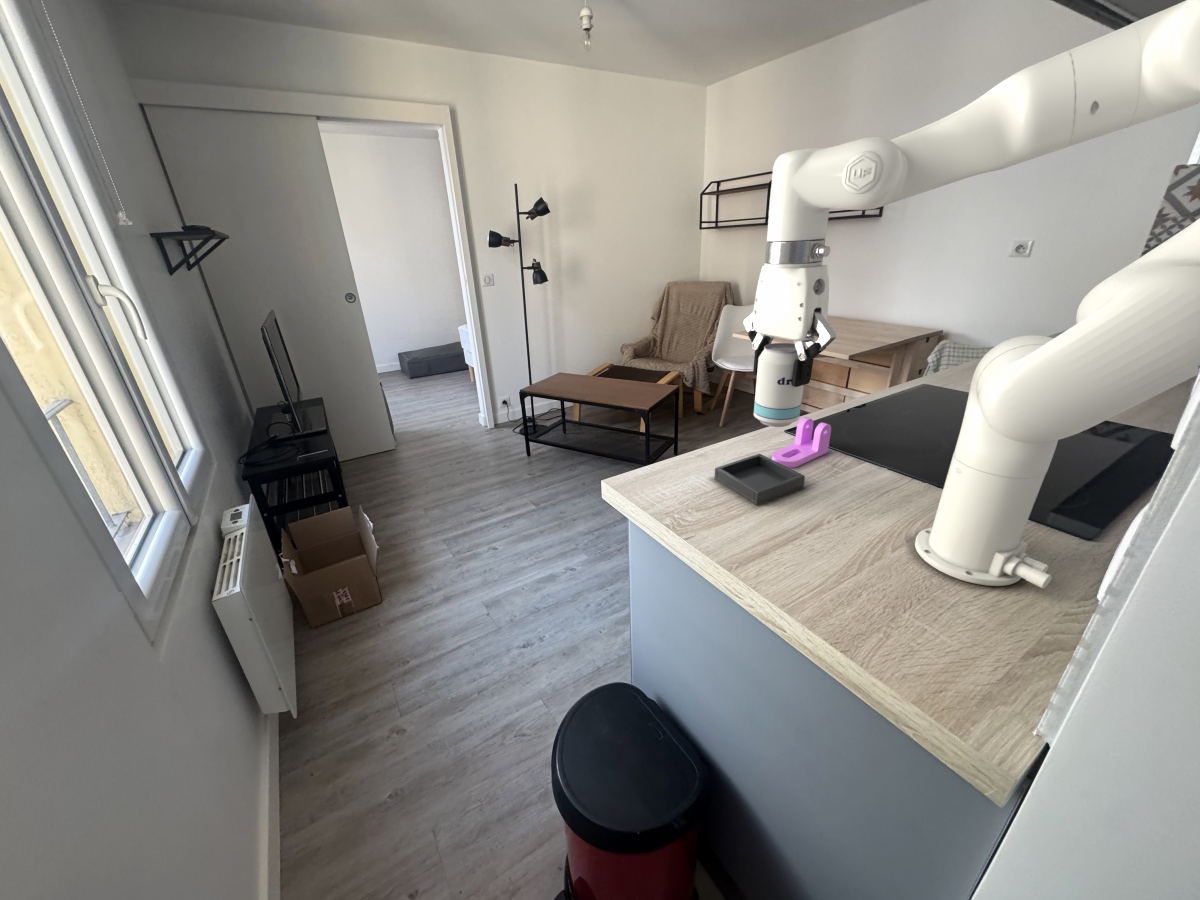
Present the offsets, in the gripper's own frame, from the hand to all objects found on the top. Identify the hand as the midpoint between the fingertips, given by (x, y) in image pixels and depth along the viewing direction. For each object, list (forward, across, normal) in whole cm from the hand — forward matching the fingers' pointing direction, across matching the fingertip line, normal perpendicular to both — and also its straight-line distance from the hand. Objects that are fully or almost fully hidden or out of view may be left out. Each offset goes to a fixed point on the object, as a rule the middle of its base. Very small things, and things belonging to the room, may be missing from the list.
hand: (780, 378), depth 72 cm
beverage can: (+7, 0, 0) cm, 7 cm away
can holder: (+24, +7, -5) cm, 25 cm away
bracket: (+24, +11, -20) cm, 33 cm away
